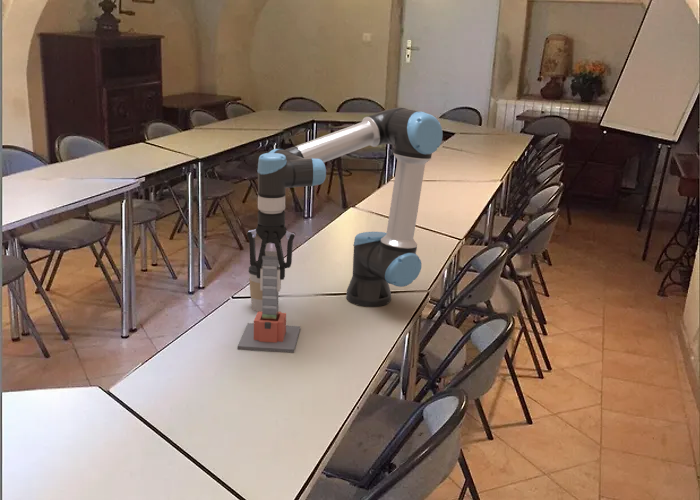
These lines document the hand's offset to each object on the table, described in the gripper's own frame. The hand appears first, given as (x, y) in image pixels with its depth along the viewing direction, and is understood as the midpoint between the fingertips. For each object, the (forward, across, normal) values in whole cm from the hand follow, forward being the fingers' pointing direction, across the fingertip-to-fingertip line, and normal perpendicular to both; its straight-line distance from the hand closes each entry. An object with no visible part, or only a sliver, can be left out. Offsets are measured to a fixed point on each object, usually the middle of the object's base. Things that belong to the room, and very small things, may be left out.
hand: (270, 289), depth 204 cm
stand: (+16, 0, 0) cm, 16 cm away
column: (+8, 0, 0) cm, 8 cm away
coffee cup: (+16, +6, -23) cm, 29 cm away
